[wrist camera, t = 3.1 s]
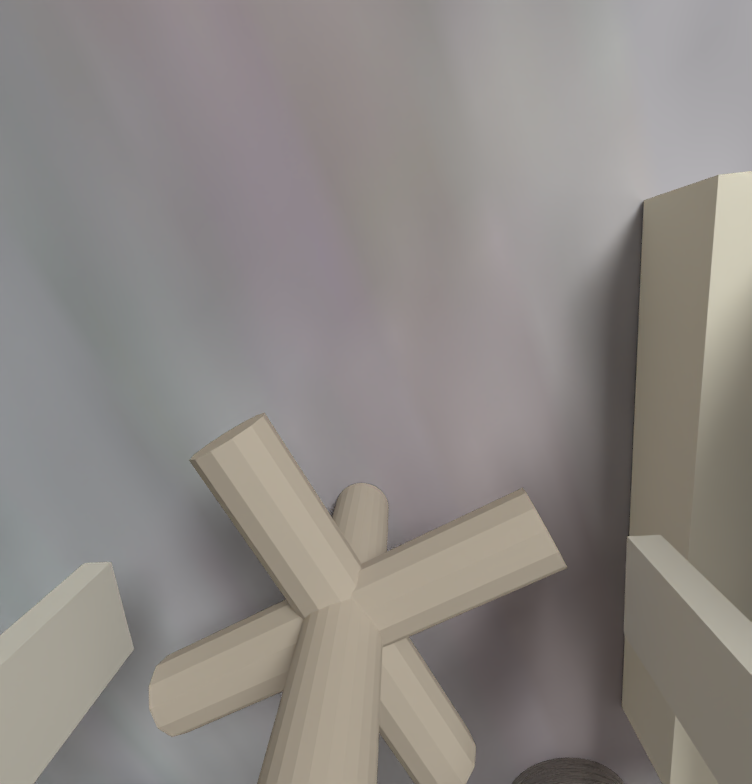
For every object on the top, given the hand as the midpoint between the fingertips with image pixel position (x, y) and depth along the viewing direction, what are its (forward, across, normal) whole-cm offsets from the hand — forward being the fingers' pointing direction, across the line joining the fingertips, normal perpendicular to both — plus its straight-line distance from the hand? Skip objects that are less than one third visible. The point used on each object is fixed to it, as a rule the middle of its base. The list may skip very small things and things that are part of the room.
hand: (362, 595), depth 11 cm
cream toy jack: (+4, 0, 0) cm, 4 cm away
